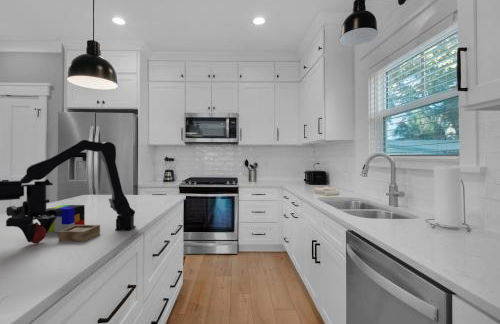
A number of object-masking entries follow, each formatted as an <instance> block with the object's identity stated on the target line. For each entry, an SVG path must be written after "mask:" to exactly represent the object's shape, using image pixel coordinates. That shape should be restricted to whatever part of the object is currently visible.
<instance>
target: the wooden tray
mask: <svg viewBox="0 0 500 324" xmlns="http://www.w3.org/2000/svg"><path fill="white" fill-rule="evenodd" d="M100 234H101V225H100V224H85V225H75V226H72V227H69V228H67V229H64V230H61V231H59V232H58V242H87V241H88V240H91V239H93V238H94V237H95V238H96V236H98V235H100Z"/></svg>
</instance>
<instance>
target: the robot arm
mask: <svg viewBox="0 0 500 324" xmlns="http://www.w3.org/2000/svg"><path fill="white" fill-rule="evenodd" d="M85 150H86V151H89V152H95V153H98V155H99V157H100V159H101V160H102V162H103V164H104V166H105V171H106V174H107V178H108V183H109V186H110V191H111V198H108V201H109V202H108V203H109V204H110V206H109V207H110V209H112V210H113V211H114V212H116V215H117V216H116V219H115V229H114V231H131V230H133V229H134V228H135V227H136V225H134V224H135V221H134V220H135V213H136V211H135V210H134V209H133V208H131V205H130V203H129V201H128V199H127V196H126V195H125V194H124V192H123V187H122V184H121V180H120V176H119V175H120V174H119V172H118V171H119V170H118V167H117V163H116V159H117V158H116V157H117V147H116V146H115V144H114V143H113V142H110V141H105V142H98V141H92V140H87V139H81V140H79V141H78V142H77V143H75V144H73V145H71V146H70V147H68V148H65V149H64V150H62V151H61V152H59V153H57V154H55V155H54V156H52V157H50V158H47V159H45V160H41V161H40V162H36V163H33V164H31V165H29V166H28V167H27V168H26V171H25V173H26V174H25V175H24V176H23V177H21V178H20V180H9V181H8V180H0V201H1V202H2V201H11V200H12V201H13V200H21V197H25V187H26V201H23V202H22V205H20V206H15V205H12V206H7V207H6V215H7V216H8V218H7V219H6V220H5V223H6V224H5V227H16V228H19V229H20V230H21V231H22V232H23V234H24V237H25V239H26V241H27V243H32V240H33V236H34V232H35V228H36V225H37V223H38V222H39V225H41V226H43V227H44V228H45V229H46V231H47V233H49V232H48V231H49V229H50V227H51V225H52V224H53V222H54V221H55V219H57V217H53V215H55V216H60V215H62V210H61V209H60V208H53V207H49V208H47V203H50V199H47V186H53V184H54V183H52V182H51V181H50V180H49V179H48V178H46V179H45V177H47V176H48V175H49V174H50V173H52V172H53V171H54V170H55V169H56V168H57V167H58V166H60V165H62V164H64V163H65V162H67V161H68V160H70V159H72V158H74V157H75V156H77V155H79V154H80V153H81V152H84V151H85ZM42 179H43V180H42ZM44 179H45V180H44ZM33 181H34V183H31V182H33ZM34 220H37V221H38V222H37V223H36V222H34Z"/></svg>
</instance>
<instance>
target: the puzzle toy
mask: <svg viewBox="0 0 500 324" xmlns="http://www.w3.org/2000/svg"><path fill="white" fill-rule="evenodd" d="M85 207H86V206H85V204H62V205H57V206H54V207H52V208H60V209H61V210H62V215H60V216H55V215H53V217H57V219H55V221H54V222H53V224H52V225H51V227H50V229H49V231H48V232H47V233H52V232H54V233H57V232H58V233H59V231H61V230H64V229H67V228H69V227H72V226H75V225H86V223H85V219H86V218H85V217H86V216H85V213H86V212H85Z"/></svg>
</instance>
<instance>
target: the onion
mask: <svg viewBox="0 0 500 324" xmlns="http://www.w3.org/2000/svg"><path fill="white" fill-rule="evenodd" d="M35 223H37V225H36V228H35V232H34V236H33V240H32V242H31V243H33V244H34V245H37V244H39V243H40V242H42V241H43V240H44V239H45V238H46V236H47V235H48V232H47V231H46V229H45V228H44V227H43V226H41V225H40V223H38V222H37V221H36V222H35Z"/></svg>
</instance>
